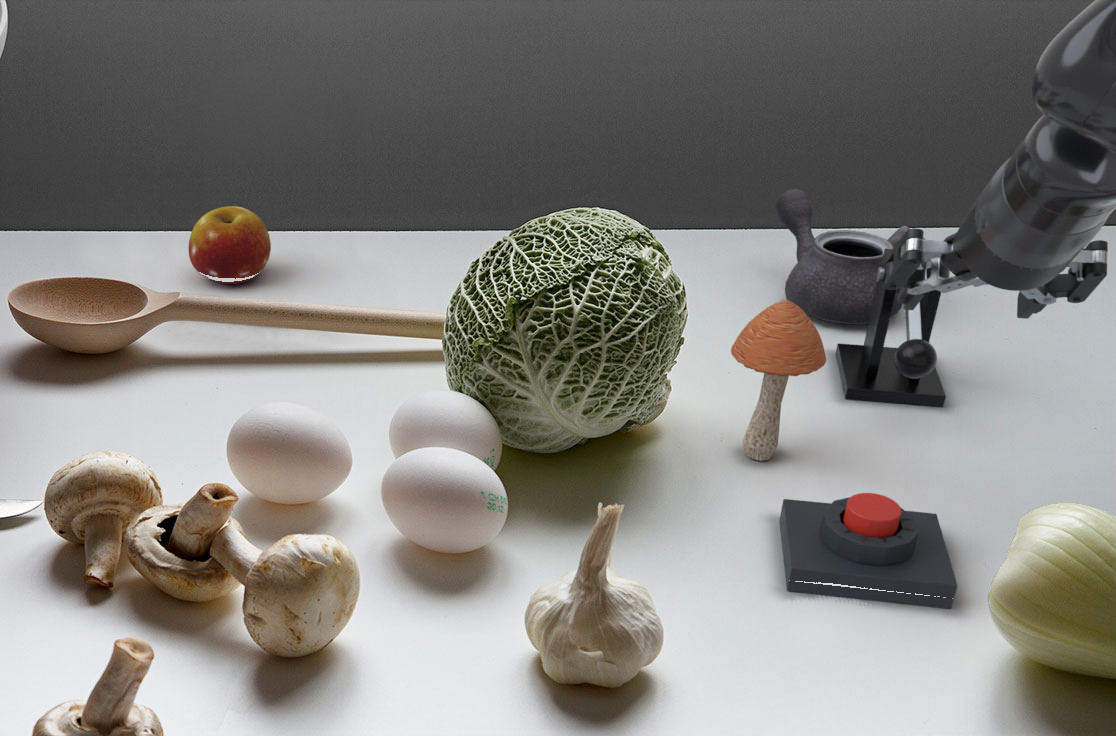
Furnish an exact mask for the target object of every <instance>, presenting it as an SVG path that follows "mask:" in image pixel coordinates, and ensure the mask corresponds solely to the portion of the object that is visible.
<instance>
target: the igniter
mask: <svg viewBox="0 0 1116 736" xmlns="http://www.w3.org/2000/svg"><path fill="white" fill-rule="evenodd" d="M848 498H849V497H848ZM900 507H901V506H900V505H899V503H898V502H896V501H895V500H894V499H892V498H890V497H888V496H886V495H883V494H879V493H873V492H860V493H856V494H853V495H852V496H850V498H849V499H848V501H847V505H846V510H845V514H844V519H843V522H844V525H845V526H846V527H847V528H848V529H849V530H850V531H853V532H855V533H858V534H861V535H863V536H866V537H874V538H887V537H891V536H893V535H894V534H895V533H896V532H897V529H898V525H899V521H900V517H901V513H902V511H901V508H902V507H901V508H900Z"/></svg>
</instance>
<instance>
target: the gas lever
mask: <svg viewBox="0 0 1116 736" xmlns="http://www.w3.org/2000/svg"><path fill="white" fill-rule="evenodd" d="M925 279H927V269H926V274H925ZM896 292H897V295H898V289H897V290H896ZM904 311H905V329H906V333H905V334H906V340H905V341H904V342H903V343H901V344H900V345H899V346H898V347H897V348H898V349H897V350H896V352H895V356H894V364H895V367H896V369H897V370H898V371H899V373H900V374H902V375H903V376H905V377H908V378H912V379H917V378H922V377H924V376H926V375H928V374H929V373H930V372H931V371H932V370H933V369H934V367H936V365H937V362H938V355H937V351H936V349H935V347H934V346H933V345H932V344H931V343H930V342H929V343H928V342H927V341H925V340H922V331H921V312H920V302H919V303H918V304H917V306H916V307H915V309H914V310H904Z"/></svg>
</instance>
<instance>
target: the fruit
mask: <svg viewBox="0 0 1116 736" xmlns="http://www.w3.org/2000/svg"><path fill="white" fill-rule="evenodd" d="M271 251H272V243H271V237H270V234H269V231H268V229H267V226H266V225H265V223H264V221H262V219H261V218H260V217H259V216H258V215H257V214H256V213H255V212H253V211H251V210H250V209H248V208H245V207H241V206H237V205H233V206H230V205H229V206H222V207H217V208H215V209H212V210H210V211H208V212H206V213H205V214H203V215H202V216H201V217H200V218H199V219H198V220H197V221H196V223H195V224H194V226H193V228H192V230H191V233H190V236H189V240H188V257H189V261H190V263H191V265H192V267H193V268H194V270H195V271H196V270H197V271H196V272H197V273H199V272H201V273H203V274H205V275H209V276H212V277H218V278H235V279H236V278H245V277H249V276H252V275H255V274H257V273H259V272H260V271H261V270H262V271H263V270H264V269H265V268H266V266H267V264H268V262H269V260H270V256H271ZM262 271H261V272H262ZM261 272H260V273H261ZM260 273H259V274H260ZM257 276H258V275H256V276H255V277H253V278H250V279H246V280H242V281H234V282H222V281H215V280H211V279H209V280H210V281H212V282H215V283H219V284H225V285H238V284H243V283H247V282H249V281H251V280H254V279H255V278H256V277H257Z"/></svg>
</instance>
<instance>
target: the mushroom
mask: <svg viewBox="0 0 1116 736" xmlns="http://www.w3.org/2000/svg"><path fill="white" fill-rule="evenodd" d="M730 353H731V356H732V357H733V358H734V359H735V360H736V362H737V363H739V364H742V365H743V366H744V368H746V369H749V370H750V369H751V370H754V372H756V373H763V377H762V380H761V381H762V382H761V387H760V392H759V397H758V401H757V402H756V406H755V408H754V411H753V413H752V415H751V419H750V421H749V423H748V426H747V429H746V431H745V434H744V437H743V439H742V444H743V450H744V455H746V457H748V459H752V460H755V461H760V462H763V461H764V462H765V461H769V460H770V459H772V456H773V455H774V453H775V451H776V450H777V448H778V447H779V437H780V436H779V434H780V423H781V411H782V402H783V399H784V395H785V391H786V388H787V385H788V380H789V377H798V376H801V375H809V374H811V373H813V372H817V371H818V370H821V368H823V367H824V366H825V365H826V363H827V356H826V351H825V347H824V343H823V340H822V338H821V335H820V333H819V330H818V329H817V327H816V326H815V324H814V322H813V321H812V320H811V317H809V315H808V314H806V313H805V312H804V311H803V310H802V309H801V308H800V307H799V306H797V305H796V304H794V303H792V302H791V301H789V300H788V299H787V298H786V299H784V300H781V301H778V302H775V303H773V304H771V305H769V306H768V307H766V308H765V309H763V310H761V311H760V312H759V313H757V314H756V315H755V316H754V317H753V318H752V319H751V320H750V321H748V323H746V325H745V326H744V328H743V329H742V330H741V331H740V333H739V334H738V336H737V337H736V339H735V341H734V342H733V344H732V345H731V348H730Z"/></svg>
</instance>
